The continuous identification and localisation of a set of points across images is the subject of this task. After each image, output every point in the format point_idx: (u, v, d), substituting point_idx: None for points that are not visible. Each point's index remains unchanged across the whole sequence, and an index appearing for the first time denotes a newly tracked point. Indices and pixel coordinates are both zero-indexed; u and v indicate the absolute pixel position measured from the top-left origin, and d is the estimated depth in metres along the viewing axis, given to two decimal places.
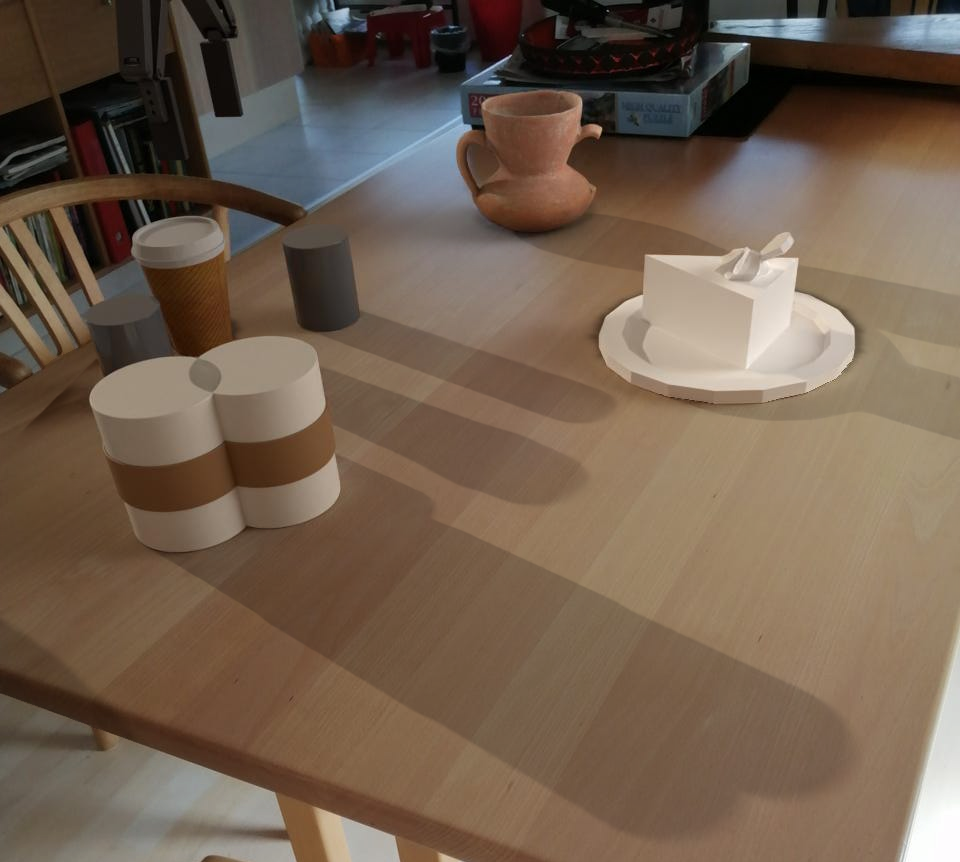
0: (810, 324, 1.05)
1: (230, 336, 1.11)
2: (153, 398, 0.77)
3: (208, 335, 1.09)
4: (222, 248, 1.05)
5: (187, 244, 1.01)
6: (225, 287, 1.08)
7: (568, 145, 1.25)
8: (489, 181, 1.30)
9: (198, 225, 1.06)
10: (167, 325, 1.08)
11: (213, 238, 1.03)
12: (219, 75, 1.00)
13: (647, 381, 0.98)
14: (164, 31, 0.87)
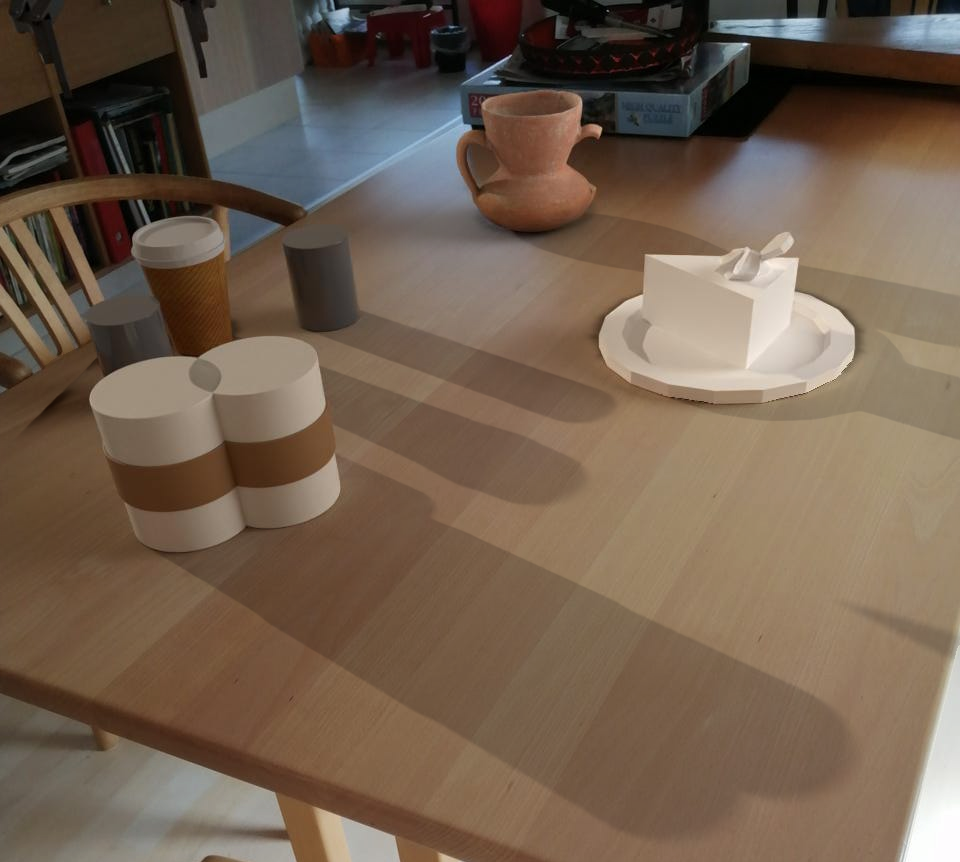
0: (810, 324, 1.05)
1: (230, 336, 1.11)
2: (153, 398, 0.77)
3: (208, 335, 1.09)
4: (222, 248, 1.05)
5: (187, 244, 1.01)
6: (225, 287, 1.08)
7: (568, 145, 1.25)
8: (489, 181, 1.30)
9: (198, 225, 1.06)
10: (167, 325, 1.08)
11: (213, 238, 1.03)
12: (60, 54, 1.03)
13: (647, 381, 0.98)
14: None
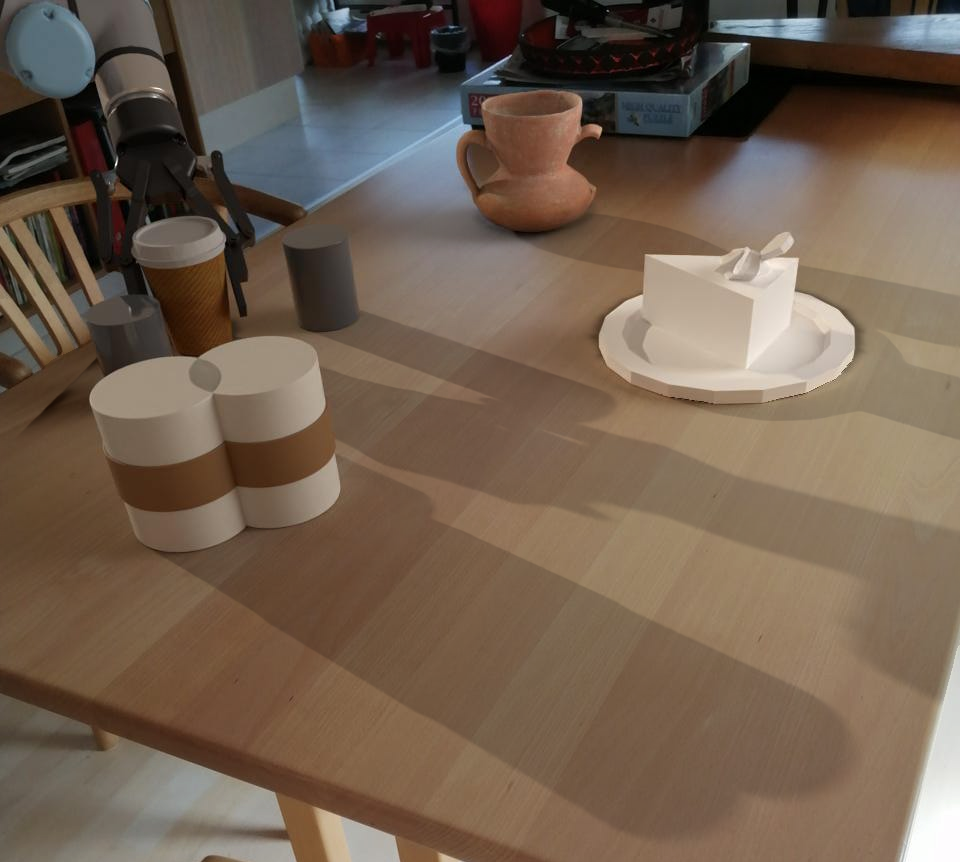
0: (810, 324, 1.05)
1: (230, 336, 1.11)
2: (153, 398, 0.77)
3: (208, 335, 1.09)
4: (222, 248, 1.05)
5: (187, 244, 1.01)
6: (225, 287, 1.08)
7: (568, 145, 1.25)
8: (489, 181, 1.30)
9: (198, 225, 1.06)
10: (167, 325, 1.08)
11: (213, 238, 1.03)
12: None
13: (647, 381, 0.98)
14: None
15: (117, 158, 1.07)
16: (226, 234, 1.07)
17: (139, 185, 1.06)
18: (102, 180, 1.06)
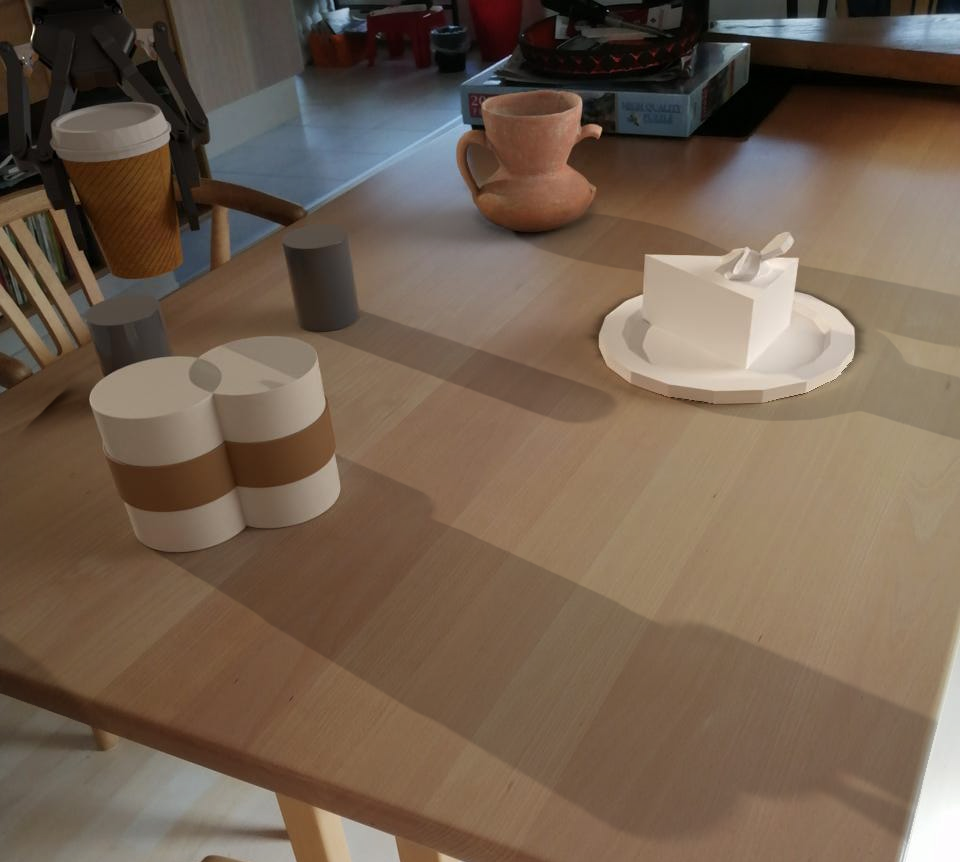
0: (810, 324, 1.05)
1: (179, 256, 0.89)
2: (153, 398, 0.77)
3: (151, 252, 0.87)
4: (166, 139, 0.83)
5: (119, 129, 0.80)
6: (171, 192, 0.86)
7: (568, 145, 1.25)
8: (489, 181, 1.30)
9: (136, 112, 0.84)
10: (99, 240, 0.87)
11: (153, 124, 0.81)
12: (73, 199, 0.85)
13: (647, 381, 0.98)
14: None
15: (34, 28, 0.85)
16: (172, 125, 0.86)
17: (61, 61, 0.84)
18: (14, 54, 0.84)
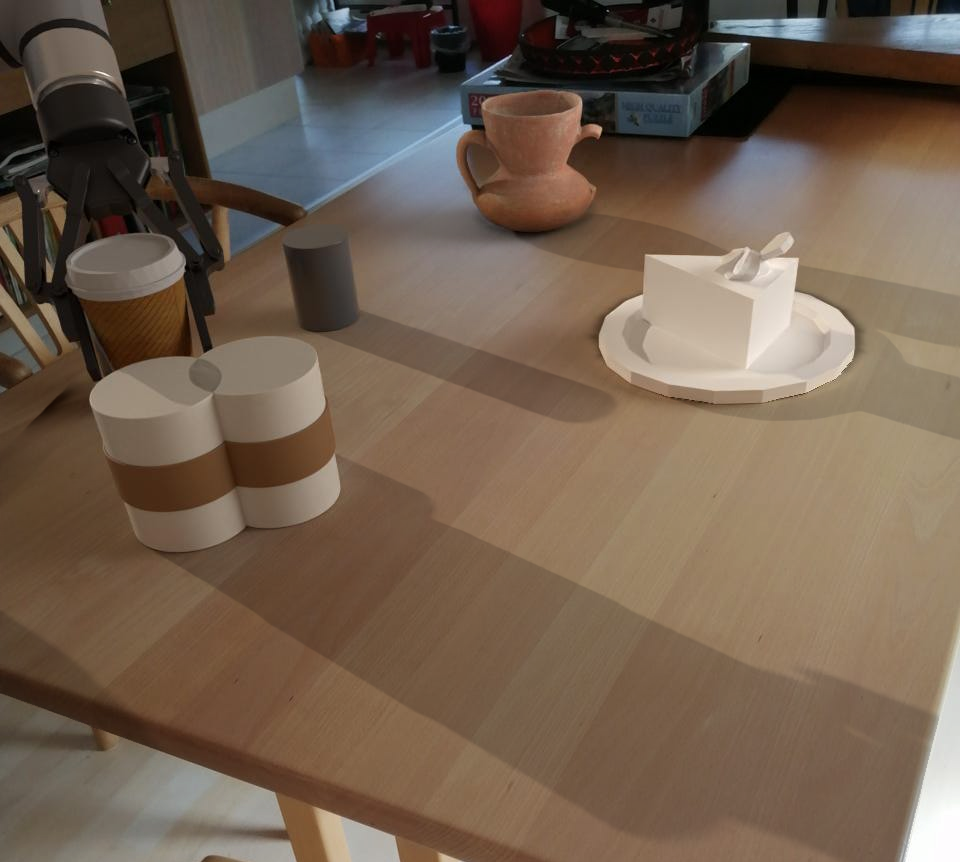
0: (810, 324, 1.05)
1: None
2: (153, 398, 0.77)
3: None
4: (181, 274, 0.83)
5: (133, 270, 0.79)
6: (186, 322, 0.86)
7: (568, 145, 1.25)
8: (489, 181, 1.30)
9: (151, 245, 0.84)
10: (114, 370, 0.86)
11: (168, 261, 0.81)
12: (88, 331, 0.84)
13: (647, 381, 0.98)
14: None
15: (49, 160, 0.85)
16: (187, 256, 0.85)
17: (76, 194, 0.84)
18: (29, 188, 0.84)
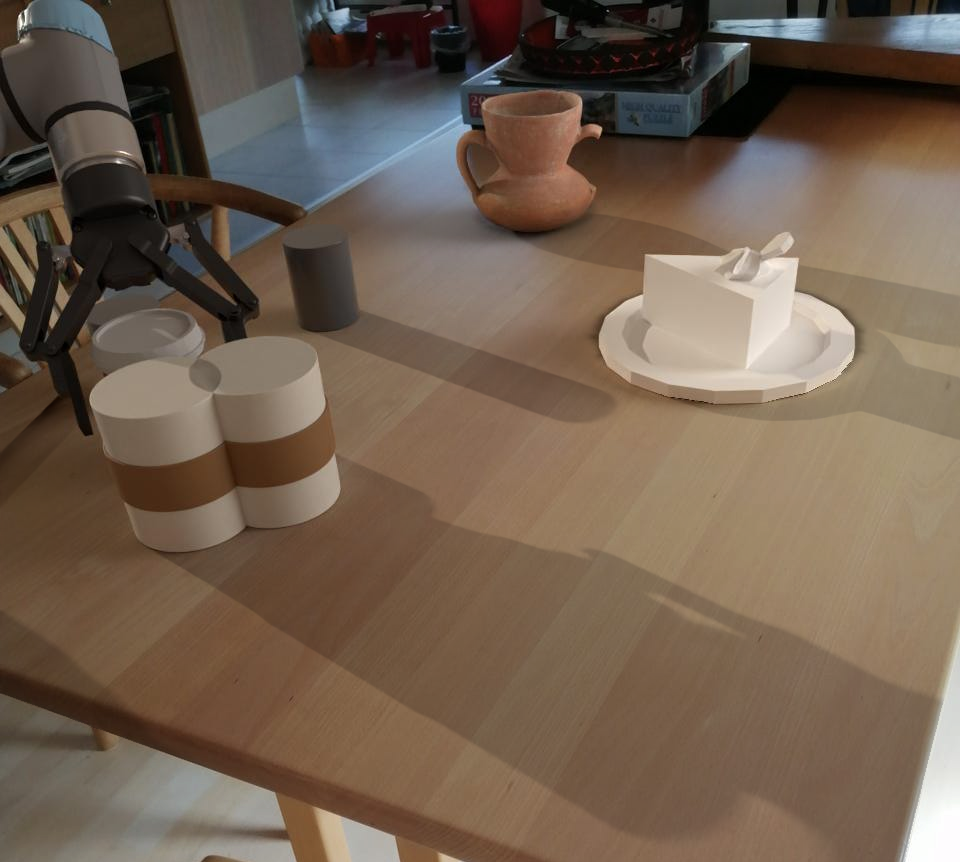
0: (810, 324, 1.05)
1: None
2: (153, 398, 0.77)
3: None
4: (200, 350, 0.87)
5: (157, 349, 0.84)
6: None
7: (568, 145, 1.25)
8: (489, 181, 1.30)
9: (172, 321, 0.88)
10: None
11: (189, 339, 0.85)
12: (79, 388, 0.88)
13: (647, 381, 0.98)
14: None
15: (73, 235, 0.89)
16: (223, 308, 0.90)
17: (92, 266, 0.88)
18: (49, 255, 0.88)
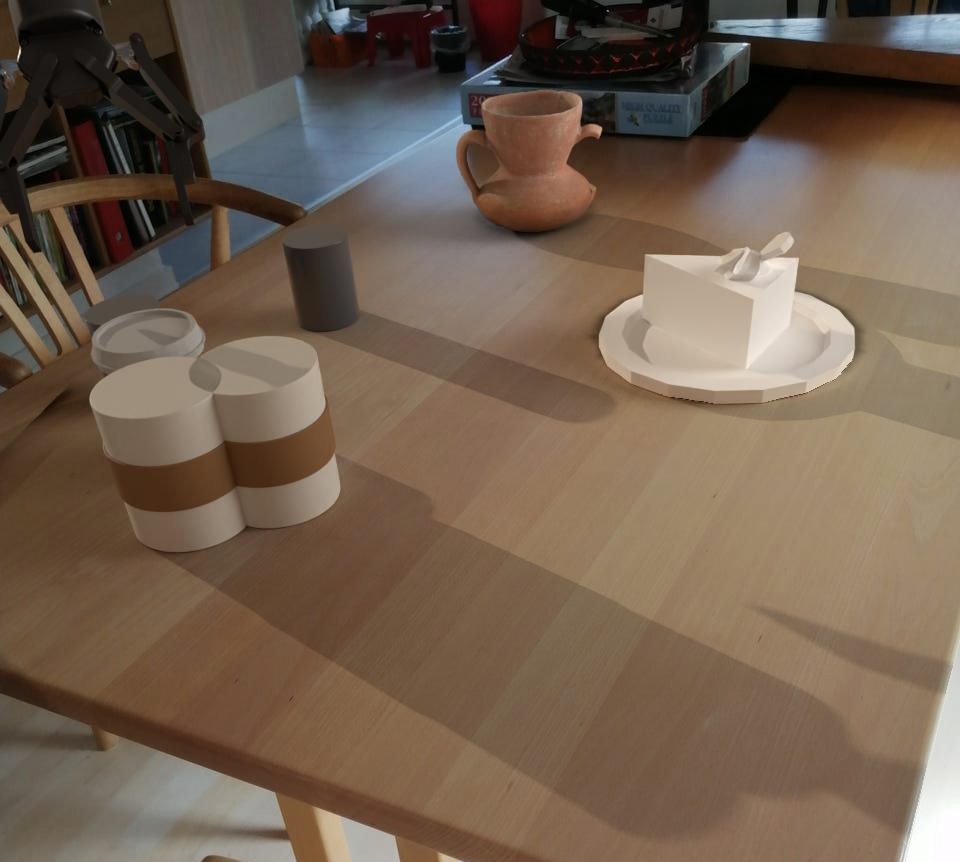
0: (810, 324, 1.05)
1: None
2: (153, 398, 0.77)
3: None
4: (200, 350, 0.87)
5: (157, 349, 0.84)
6: None
7: (568, 145, 1.25)
8: (489, 181, 1.30)
9: (172, 321, 0.88)
10: None
11: (189, 339, 0.85)
12: (27, 204, 0.91)
13: (647, 381, 0.98)
14: None
15: (20, 49, 0.90)
16: (167, 128, 0.92)
17: (38, 80, 0.90)
18: None
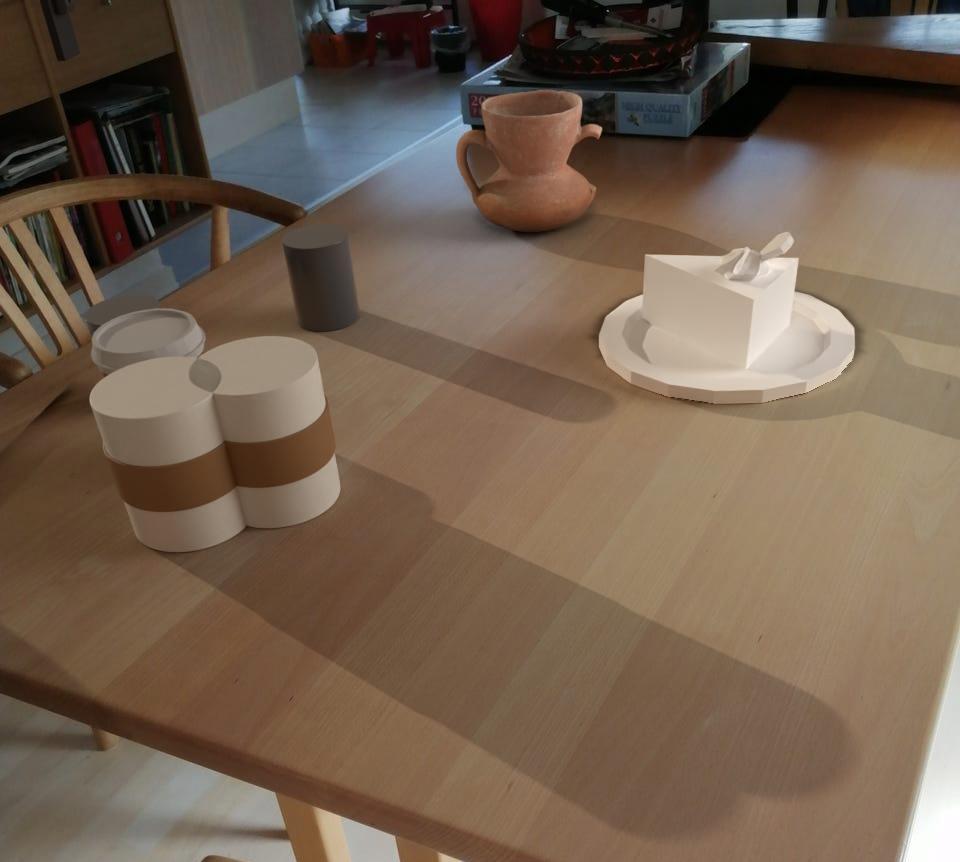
0: (810, 324, 1.05)
1: None
2: (153, 398, 0.77)
3: None
4: (200, 350, 0.87)
5: (157, 349, 0.84)
6: None
7: (568, 145, 1.25)
8: (489, 181, 1.30)
9: (172, 321, 0.88)
10: None
11: (189, 339, 0.85)
12: None
13: (647, 381, 0.98)
14: None
15: None
16: None
17: None
18: None
